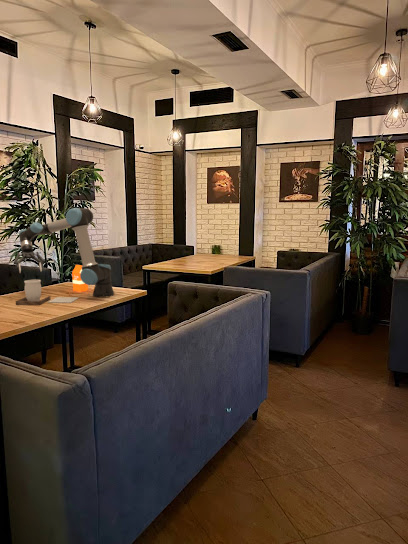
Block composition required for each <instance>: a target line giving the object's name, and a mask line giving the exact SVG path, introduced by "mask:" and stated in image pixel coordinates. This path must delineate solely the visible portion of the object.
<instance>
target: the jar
mask: <svg viewBox="0 0 408 544" xmlns="http://www.w3.org/2000/svg"><path fill="white" fill-rule="evenodd" d="M23 282H24V294H25V297H26V298H27V301H40V300H41V296H42V284H41V282H42V280H41V279H34V278H33V279H27V280H24V281H23Z"/></svg>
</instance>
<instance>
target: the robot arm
mask: <svg viewBox="0 0 408 544" xmlns="http://www.w3.org/2000/svg"><path fill="white" fill-rule="evenodd" d="M93 220H94V214H93V212H92V210H90V209H89V208H86V207H85V208H79V207H74V208H70V209H69V210H67V212H66V214H65V218H61V219H58V220H55V221H51V222H49V223H44V224H41V223H40V222H37V221H35V222H33V223H32V224H30V225H29V227H27V228H25V229H21V230H20V231H19V233H18V235H19V236H18V237H19V242H20V250H21V252H17V255H16V257H15V259H14V261H13V265H14V266H15V265H16V269H18V270H19V271H18V272H19V274H21V273H22V268H21V263H22V262H23V261H25V259H26V260H27V259H29V260H31V259H32V260H34V261H35V262H37V263H38V265H39V266H38V267H39V271H40V272H41V273H42V271H43V269H42V268H43V267H44V266H43V265H44V264H45V261H46V260H45V259H44V258H43V257H42V256H41V255H40V253H39V252H38V251H36V252H34V249H33V241H32V240H33V239H34V238H35V237H36V236H42V235H52V234H53V233H56V232H60V231H62V230H65V229H69V228H71V230H73V231H74V234H75V238H76V242H77V245H78V251H79V254H80V258H81V261H82V262H81V263H82V267H81V268H82V271H81V273H80V278H81V280H82V282H83V283H85V284H87V285H88V286H92V285H94V287H93V290H92V291H93V292H92V296H93V297H96V298H106V296H108V297H112V296H114V295H115V292H114V289H113V288H114V287H113V285H112V267H111V265H110V264H103V263H100V264H99V263H98V262H96V260H95V255H94V251H93V247H92V244H91V238H90V234H89V231H88V227H89V225H90V224H91V223H92V222H93ZM21 256H22V257H21ZM113 294H114V295H113ZM111 295H112V296H111Z"/></svg>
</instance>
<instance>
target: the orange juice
mask: <svg viewBox="0 0 408 544" xmlns="http://www.w3.org/2000/svg"><path fill="white" fill-rule="evenodd" d="M82 265H83V264H82ZM82 265H80V264H75V267H74V269H72V272H71V273H72V276H71V277H72V291H73V292H79V293H82V292H88V291H89V285H87V284H85V283H83V282H82V280H81V278H80V273H81V271H82V268H81V267H82ZM87 290H88V291H87Z"/></svg>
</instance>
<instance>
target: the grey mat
mask: <svg viewBox="0 0 408 544" xmlns="http://www.w3.org/2000/svg"><path fill="white" fill-rule="evenodd" d="M78 299H80V297H75V296H74V297H72V296H71V297H69V296H67V297H65V296H64V297H63V296H62V297H61V296H57V297H55V298H52V299H51V300H49V301H47V303H48V304H49V303H50V304H72V303H73V302H76V301H77V300H78Z"/></svg>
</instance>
